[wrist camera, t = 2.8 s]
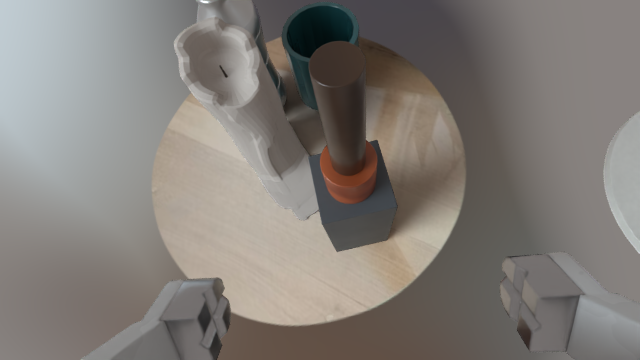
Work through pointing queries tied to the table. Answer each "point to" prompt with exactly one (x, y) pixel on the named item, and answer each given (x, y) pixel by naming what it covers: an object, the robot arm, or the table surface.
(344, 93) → the rod with orange collar
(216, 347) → the robot arm
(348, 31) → the teal cup
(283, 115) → the candle
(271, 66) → the silver metal bottle
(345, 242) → the stand
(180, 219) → the table surface
